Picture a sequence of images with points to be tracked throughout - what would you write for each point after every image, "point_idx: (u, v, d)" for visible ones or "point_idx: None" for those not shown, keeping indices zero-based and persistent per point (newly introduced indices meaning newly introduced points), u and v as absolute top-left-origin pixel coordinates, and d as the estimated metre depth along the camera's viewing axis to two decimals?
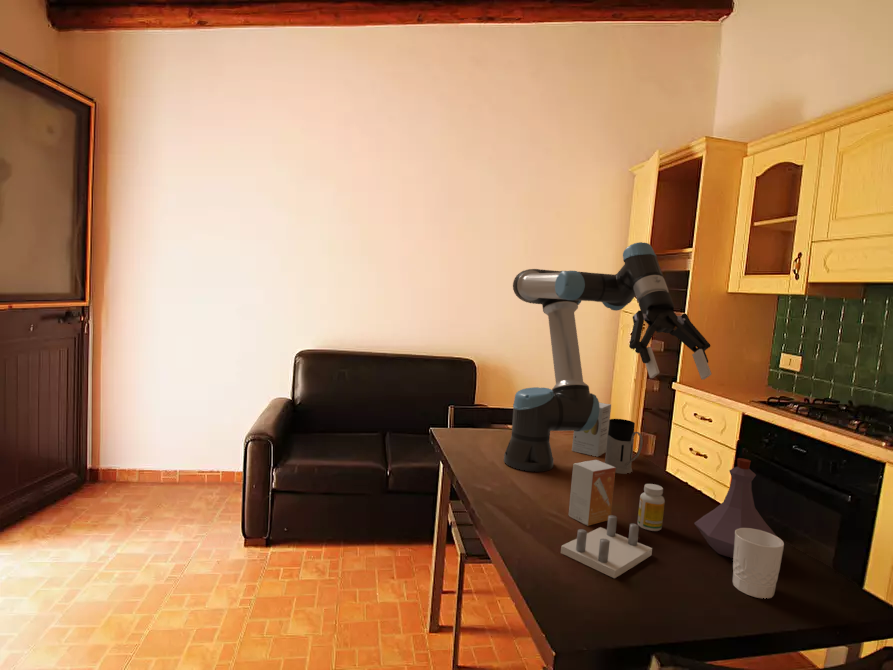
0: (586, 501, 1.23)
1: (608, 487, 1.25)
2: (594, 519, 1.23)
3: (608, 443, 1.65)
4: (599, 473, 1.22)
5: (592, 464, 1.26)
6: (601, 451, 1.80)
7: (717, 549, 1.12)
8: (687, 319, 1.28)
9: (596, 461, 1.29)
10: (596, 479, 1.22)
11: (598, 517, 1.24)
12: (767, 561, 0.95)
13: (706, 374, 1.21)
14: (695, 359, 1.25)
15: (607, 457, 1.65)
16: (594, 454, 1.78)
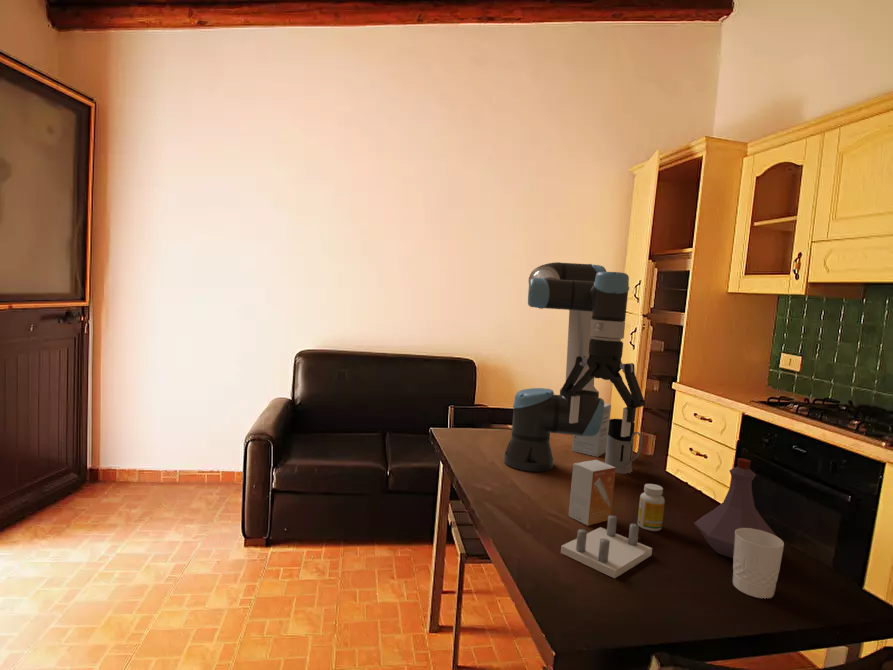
0: (586, 501, 1.23)
1: (608, 487, 1.25)
2: (594, 519, 1.23)
3: (608, 443, 1.65)
4: (599, 473, 1.22)
5: (592, 464, 1.26)
6: (601, 451, 1.80)
7: (717, 549, 1.12)
8: (627, 371, 1.19)
9: (596, 461, 1.29)
10: (596, 479, 1.22)
11: (598, 517, 1.24)
12: (767, 561, 0.95)
13: None
14: None
15: (607, 457, 1.65)
16: (594, 454, 1.78)
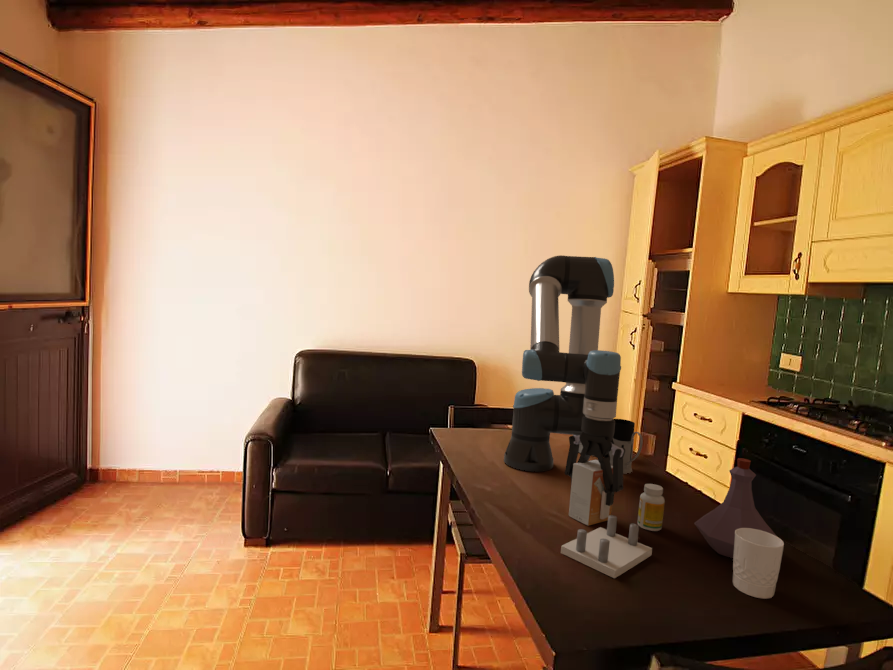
0: (586, 501, 1.23)
1: None
2: (594, 519, 1.23)
3: None
4: (599, 473, 1.22)
5: (592, 464, 1.26)
6: None
7: (717, 549, 1.12)
8: (616, 456, 1.21)
9: (596, 461, 1.29)
10: (596, 479, 1.22)
11: (598, 516, 1.24)
12: (767, 561, 0.95)
13: None
14: None
15: None
16: None
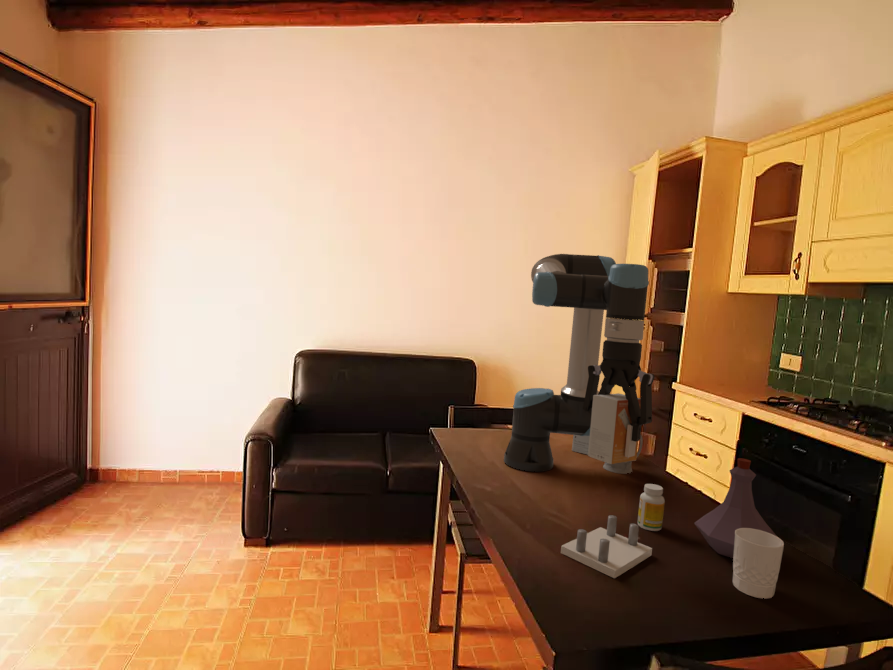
0: (609, 436, 1.06)
1: None
2: (618, 457, 1.07)
3: None
4: (624, 403, 1.06)
5: (615, 395, 1.10)
6: None
7: (717, 549, 1.12)
8: (644, 382, 1.04)
9: (618, 394, 1.12)
10: (620, 410, 1.06)
11: (623, 455, 1.07)
12: (767, 561, 0.95)
13: None
14: None
15: None
16: None
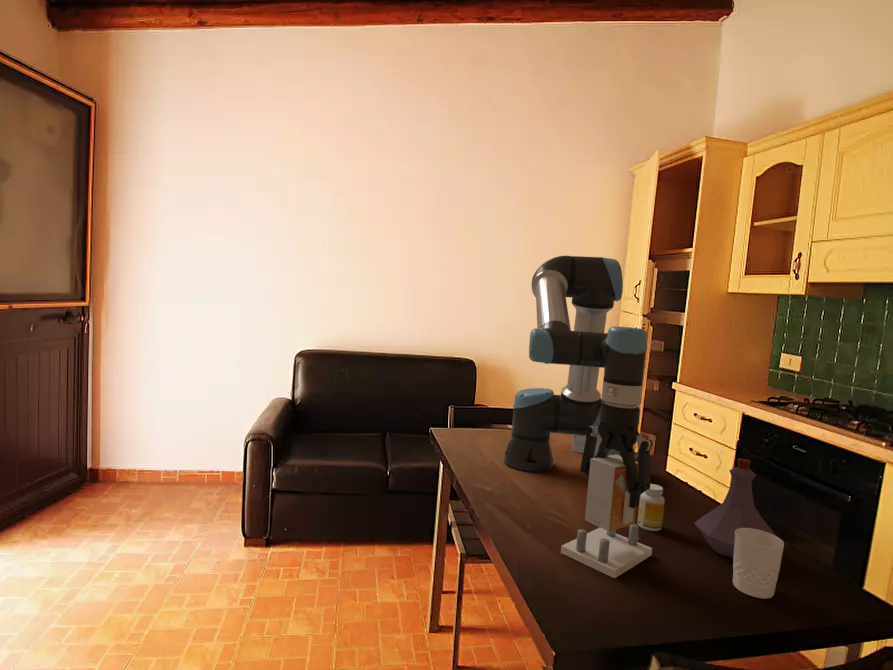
0: (607, 502, 1.04)
1: None
2: (616, 523, 1.05)
3: None
4: (622, 469, 1.04)
5: (613, 459, 1.08)
6: None
7: (717, 549, 1.12)
8: (642, 449, 1.02)
9: (616, 456, 1.11)
10: (618, 477, 1.04)
11: (620, 521, 1.06)
12: (767, 561, 0.95)
13: None
14: None
15: None
16: (594, 454, 1.78)
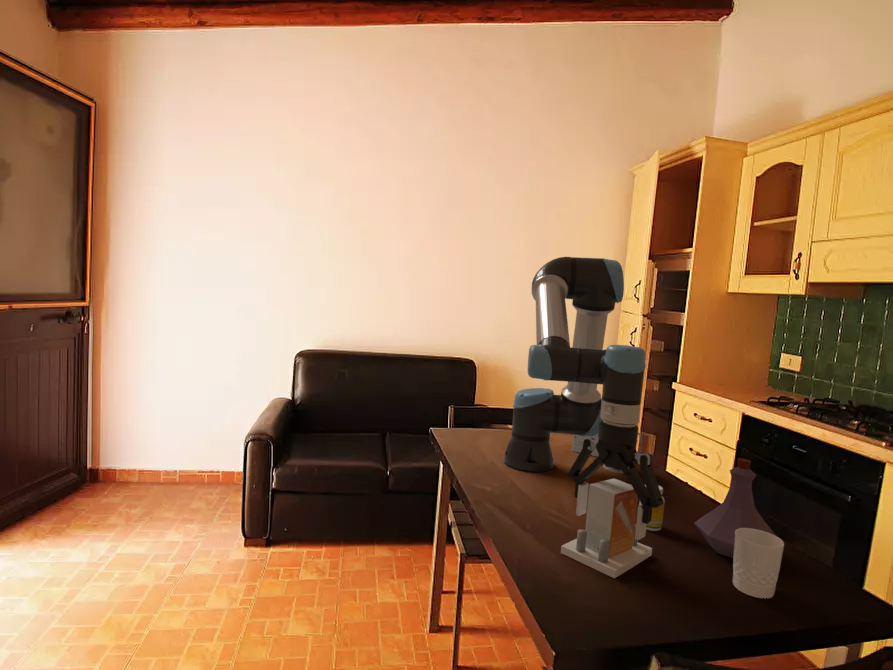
0: (606, 528, 1.05)
1: (631, 511, 1.07)
2: (615, 549, 1.05)
3: None
4: (621, 496, 1.05)
5: (612, 485, 1.08)
6: None
7: (717, 549, 1.12)
8: (643, 464, 1.02)
9: (614, 481, 1.11)
10: (617, 503, 1.04)
11: (619, 546, 1.06)
12: (767, 561, 0.95)
13: None
14: None
15: None
16: (594, 454, 1.78)
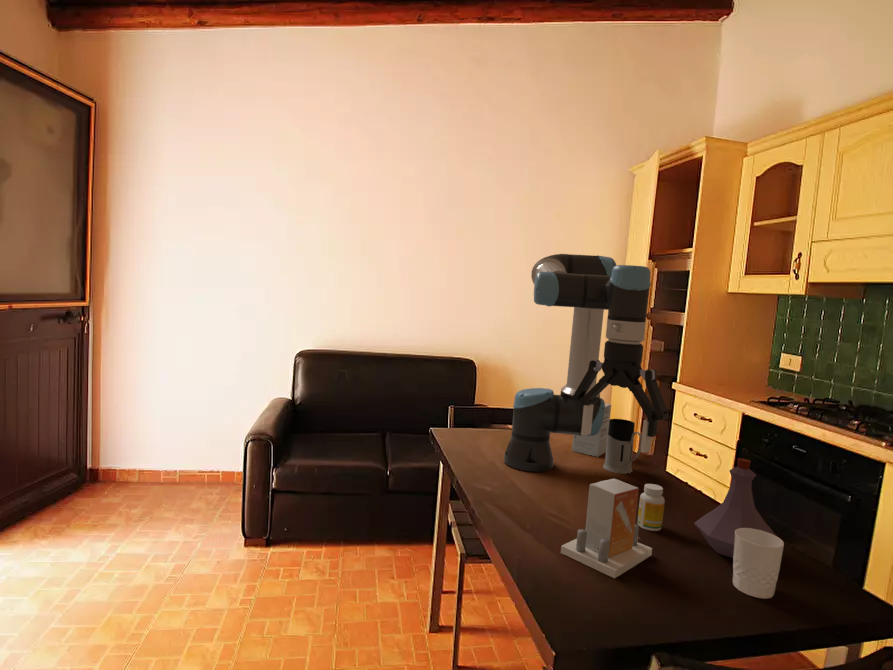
0: (606, 528, 1.05)
1: (630, 511, 1.07)
2: (615, 549, 1.05)
3: (608, 443, 1.65)
4: (621, 496, 1.05)
5: (612, 485, 1.08)
6: (601, 451, 1.80)
7: (717, 549, 1.12)
8: (648, 378, 1.04)
9: (614, 481, 1.11)
10: (617, 503, 1.04)
11: (619, 546, 1.06)
12: (767, 561, 0.95)
13: None
14: None
15: (607, 457, 1.65)
16: (594, 454, 1.78)
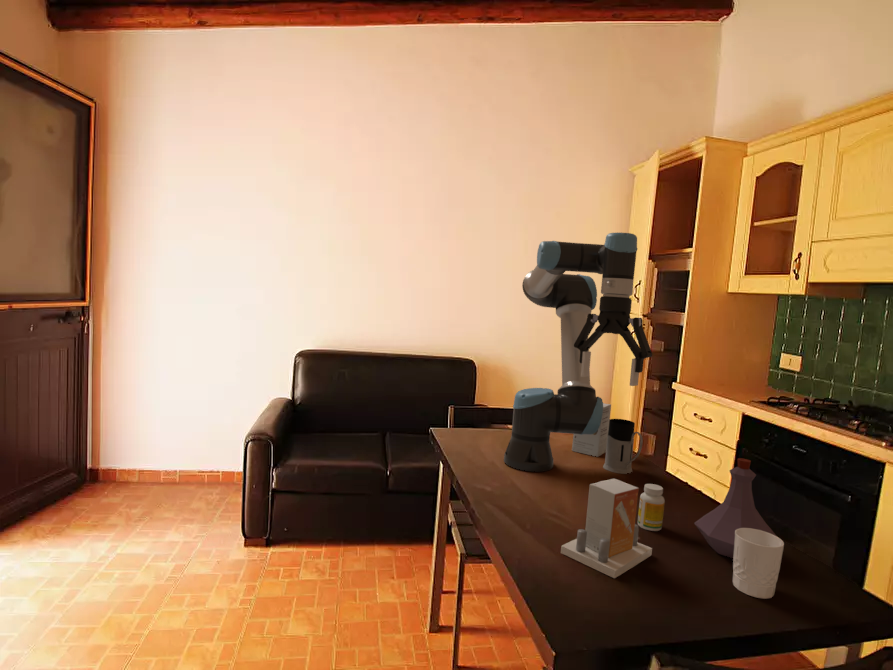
0: (606, 529, 1.05)
1: (631, 511, 1.07)
2: (615, 549, 1.05)
3: (608, 443, 1.65)
4: (621, 496, 1.05)
5: (612, 485, 1.08)
6: (601, 451, 1.80)
7: (717, 549, 1.12)
8: (635, 324, 1.28)
9: (614, 481, 1.11)
10: (617, 503, 1.04)
11: (619, 546, 1.06)
12: (767, 561, 0.95)
13: None
14: None
15: (607, 457, 1.65)
16: (594, 454, 1.78)
